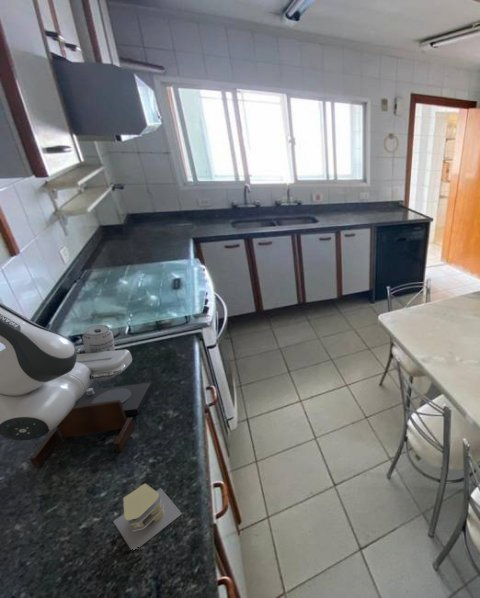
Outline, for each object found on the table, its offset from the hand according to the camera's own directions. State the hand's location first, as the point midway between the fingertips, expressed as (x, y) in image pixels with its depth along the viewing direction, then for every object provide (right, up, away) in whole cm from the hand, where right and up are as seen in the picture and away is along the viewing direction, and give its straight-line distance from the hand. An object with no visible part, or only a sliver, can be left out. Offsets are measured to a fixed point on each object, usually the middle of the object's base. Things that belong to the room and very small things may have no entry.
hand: (94, 349), depth 90 cm
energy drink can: (0, -8, +3) cm, 9 cm away
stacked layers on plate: (+30, -33, -21) cm, 49 cm away
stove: (-1, -18, +7) cm, 19 cm away
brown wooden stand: (+4, -24, -6) cm, 25 cm away
